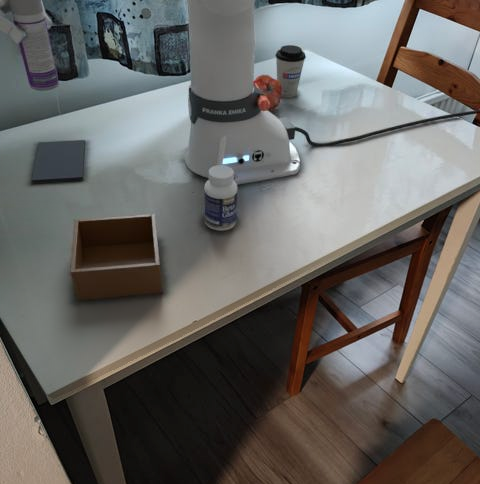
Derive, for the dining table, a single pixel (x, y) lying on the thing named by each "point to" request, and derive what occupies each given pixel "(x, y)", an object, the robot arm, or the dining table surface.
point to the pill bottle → (220, 198)
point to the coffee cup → (289, 69)
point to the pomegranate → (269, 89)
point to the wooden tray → (115, 257)
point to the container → (35, 44)
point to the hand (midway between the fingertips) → (36, 33)
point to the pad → (59, 161)
